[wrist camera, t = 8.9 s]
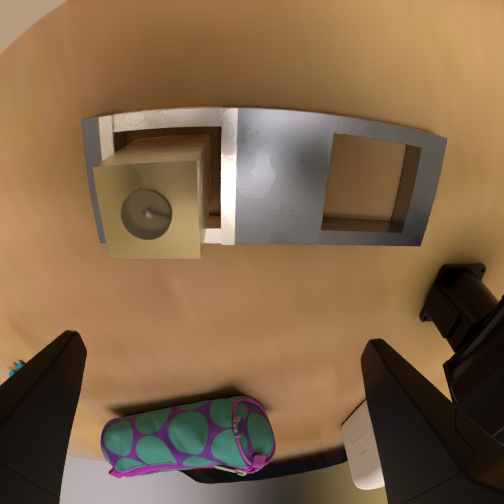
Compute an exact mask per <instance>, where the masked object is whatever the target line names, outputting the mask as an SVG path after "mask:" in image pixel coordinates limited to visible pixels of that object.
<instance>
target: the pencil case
mask: <svg viewBox="0 0 504 504" xmlns="http://www.w3.org/2000/svg"><path fill="white" fill-rule="evenodd" d="M275 448H276V444H275V438H274V434H273V430H272V427H271V424H270V422H269V419H268V417H267V414H266V413H265V411H264V409H263V408H262V407H261V406H260V405H259V404H258V403H257V402H256V401H255V400H254V399H252V398H250V397H248V396H235V397H231V398H225V399H215V400H206V401H200V402H197V403H194V404H185V405H178V406H173V407H169V408H164V409H159V410H155V411H149V412H145V413H140V414H135V415H132V416H125V417H121V418H114V419H112V420H110V421H109V422H107V424H106V425H105V426H104V428H103V431H102V434H101V449H102V452H103V455H104V457H105V458H106V460H107V461H108V462H109V463H110V464H111V465H112V466H113V468H112V469H111V470H110V471H109V474H110V475H112V476H115V477H117V478H121V477H123V476H125V477H129V476H130V477H132V476H136V475H148V474H153V473H157V472H168V471H174V470H185V469H194V468H211V467H212V468H218V469H221V470H226V471H230V472H235V473H236V472H237V471H238V473H237V474H238V475H242V476H244V475H246V474H247V473H254V472H255V471H259V470H260V469H261V468H263V467H264V466H265V465H266V464H268V463H269V462H270V461H271V459H272V458H273V456H274V453H275ZM236 470H237V471H236ZM239 472H241V473H239Z"/></svg>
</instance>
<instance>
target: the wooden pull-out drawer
mask: <svg viewBox="0 0 504 504" xmlns="http://www.w3.org/2000/svg"><path fill="white" fill-rule="evenodd" d="M93 173H94V180H95V186H96V193H97V198H98V204H99V210H100V215H101V220H102V225H103V230H104V235H105V239H106V244H107V248H108V252H109V256H110V258H125V259H201V256H202V250H203V245H204V239H205V233H206V228H207V222H208V217H209V211H210V206H211V176H210V134H206V135H177V136H160V137H147V138H138V139H136V140H135V141H133V142H131V143H130V144H128V145H126V146H125V147H123V148H121V149H120V150H118V151H117V152H115V153H114V154H112V155H111V156H109V157H107V158H106V159H104V160H103V161H101V162H100V163H98V164H97V165H95V166H94V167H93Z"/></svg>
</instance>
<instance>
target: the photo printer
mask: <svg viewBox="0 0 504 504" xmlns="http://www.w3.org/2000/svg"><path fill="white" fill-rule="evenodd" d="M341 432H342V436H343V441H344V445H345V449H346V453H347V457H348V462H349V466H350V470H351V474H352V479H353V482H354V484H355V485H356V486H357V487H358V488H360V489H363V490H370V489H375V488H380V487H383V486H385V484H384V479H383V474H382V469H381V464H380V459H379V454H378V450H377V445H376V441H375V436H374V432H373V428H372V423H371V419H370V415H369V411H368V407H367V401H366V400H365V401H364V402H363V403H362V404H361V406H360V407H359V408H358V409H357V410H356V411H355V412H354V413H353V414H352V415H351V416H350V417H349V419H348V420H347V421H346V422H345V423H344V424H343V426H342V427H341Z"/></svg>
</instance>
